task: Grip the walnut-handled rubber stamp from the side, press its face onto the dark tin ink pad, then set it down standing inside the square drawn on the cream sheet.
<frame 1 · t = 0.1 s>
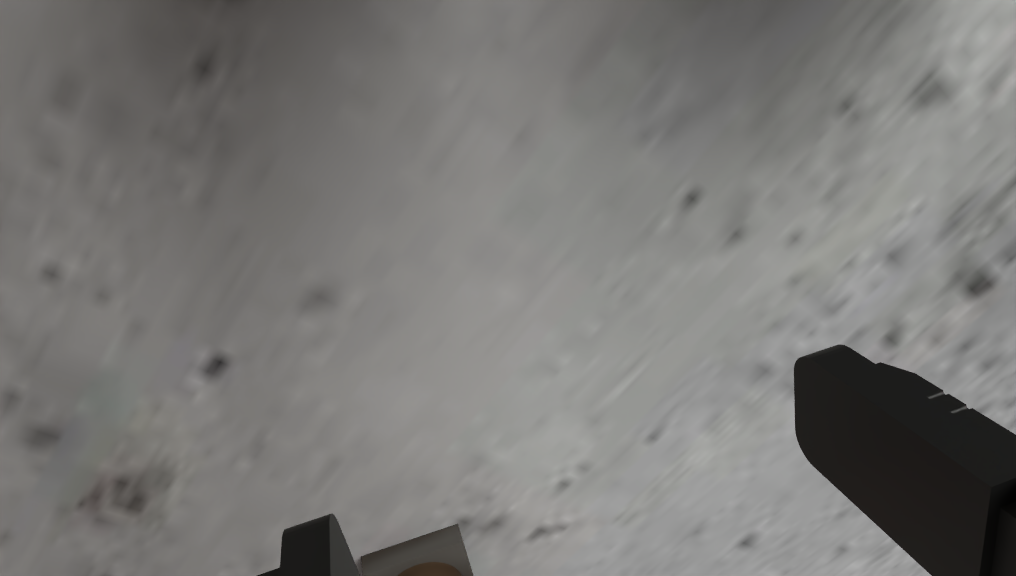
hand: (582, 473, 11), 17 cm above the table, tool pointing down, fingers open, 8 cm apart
stamp: (421, 572, 35), on the table
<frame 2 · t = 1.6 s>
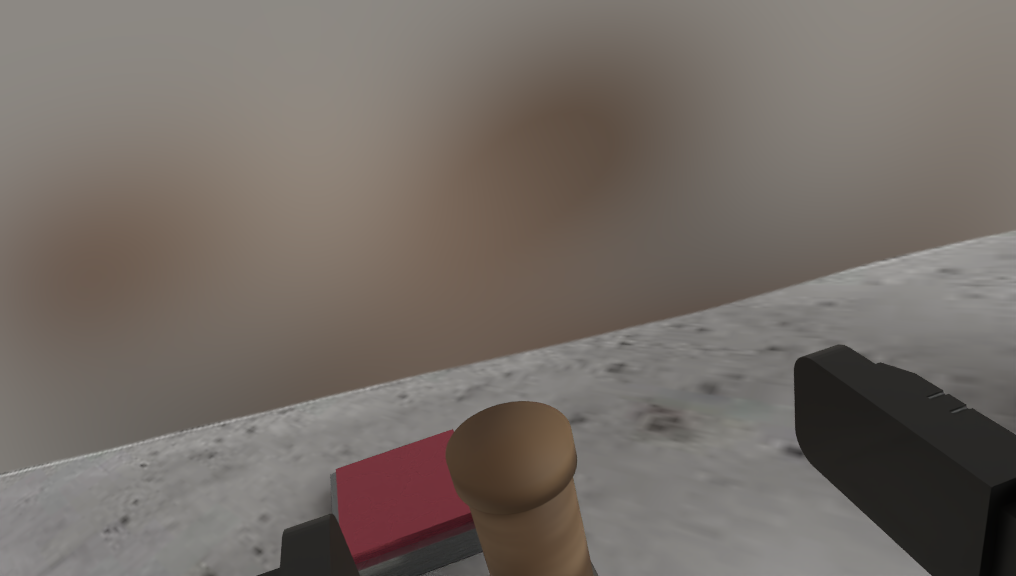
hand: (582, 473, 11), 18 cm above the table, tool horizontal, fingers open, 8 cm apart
ink pad: (413, 517, 37), on the table
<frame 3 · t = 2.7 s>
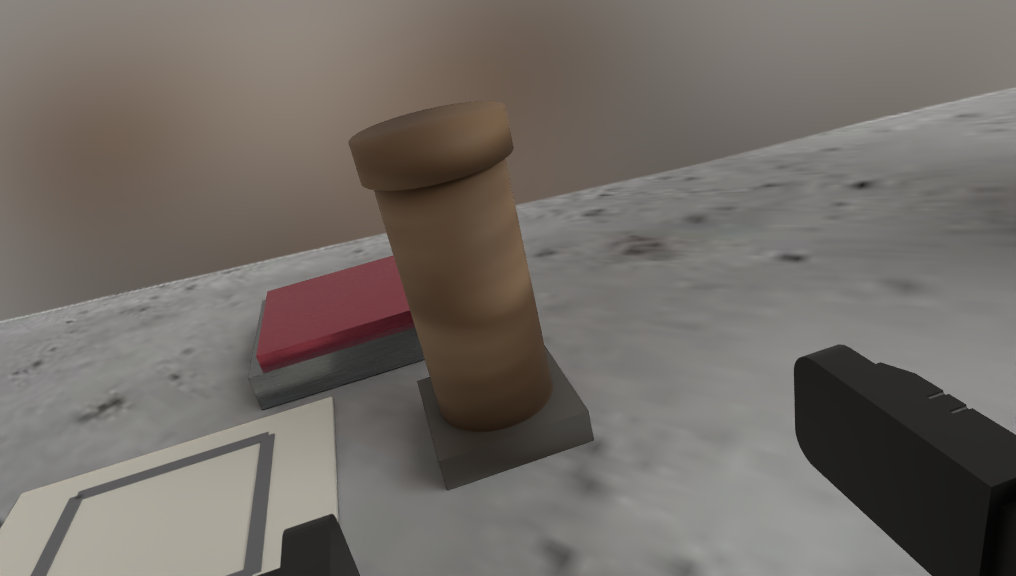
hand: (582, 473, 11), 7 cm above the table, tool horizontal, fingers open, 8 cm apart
sheet: (157, 535, 22), on the table
stamp: (502, 422, 24), on the table
ink pad: (352, 338, 32), on the table
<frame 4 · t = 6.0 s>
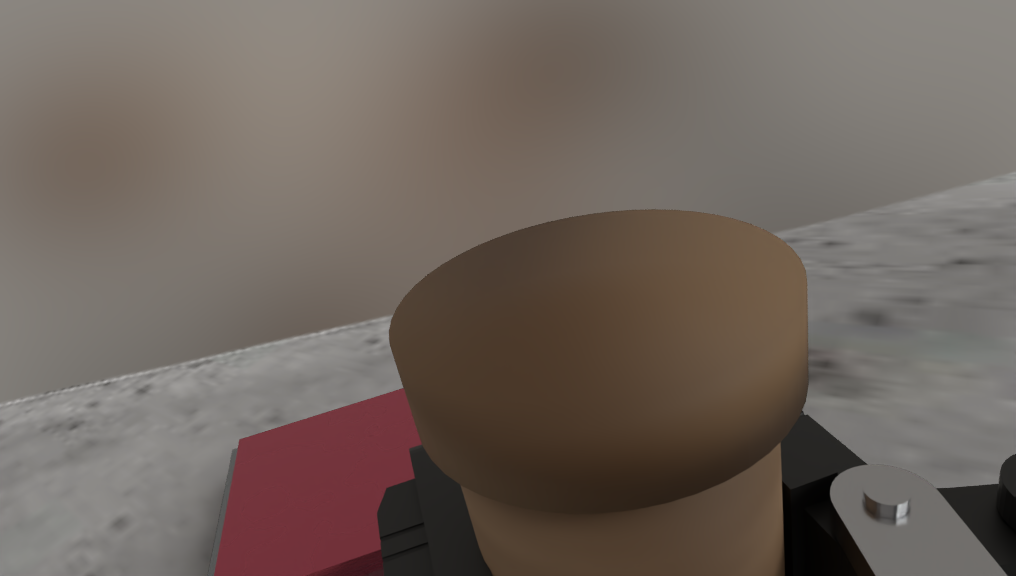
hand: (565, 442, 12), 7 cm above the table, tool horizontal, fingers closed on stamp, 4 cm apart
ink pad: (369, 526, 20), on the table
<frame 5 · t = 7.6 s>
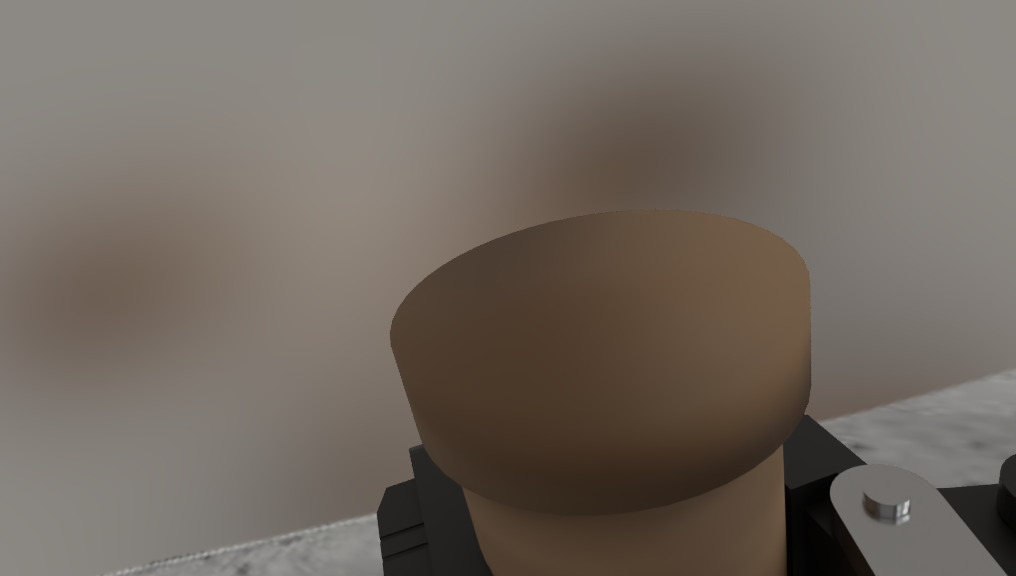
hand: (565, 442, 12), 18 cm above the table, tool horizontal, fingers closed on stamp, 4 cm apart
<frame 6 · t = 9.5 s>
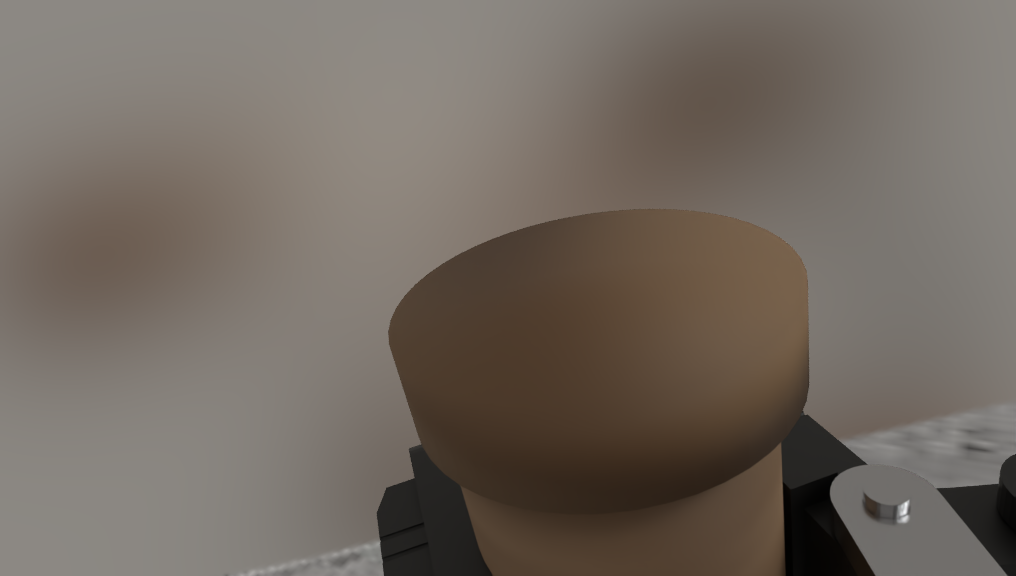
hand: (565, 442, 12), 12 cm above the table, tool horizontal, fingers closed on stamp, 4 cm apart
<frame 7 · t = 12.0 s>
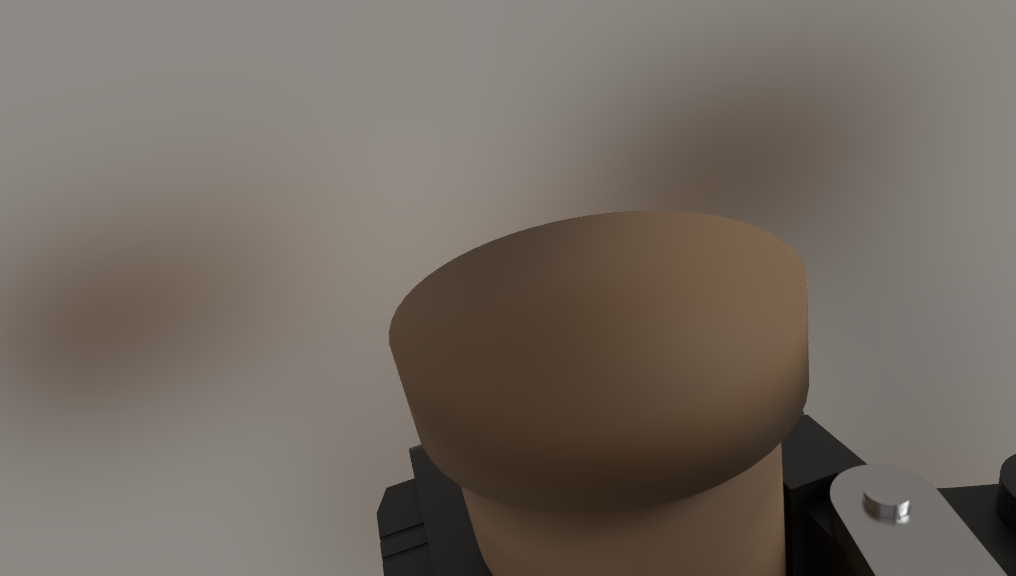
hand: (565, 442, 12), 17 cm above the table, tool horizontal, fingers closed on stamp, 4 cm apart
when the fingers open (8 cm above the table, at t = 15.6 s): stamp drops 1 cm, resting on sheet.
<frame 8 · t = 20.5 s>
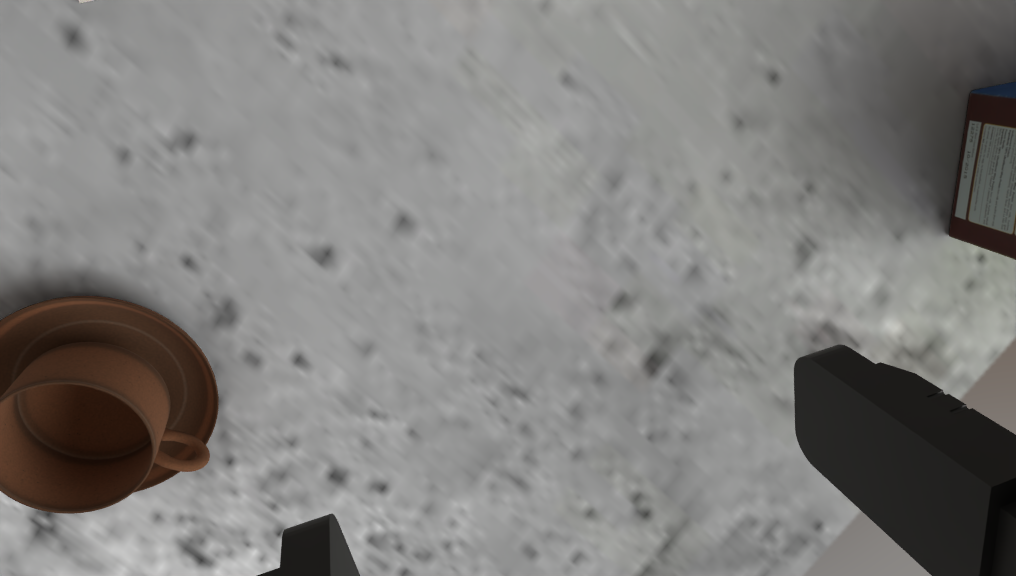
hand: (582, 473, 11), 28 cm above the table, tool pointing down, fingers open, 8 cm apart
cup and saucer: (106, 383, 37), on the table
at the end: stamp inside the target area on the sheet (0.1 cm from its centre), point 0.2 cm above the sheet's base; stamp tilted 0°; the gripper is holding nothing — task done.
